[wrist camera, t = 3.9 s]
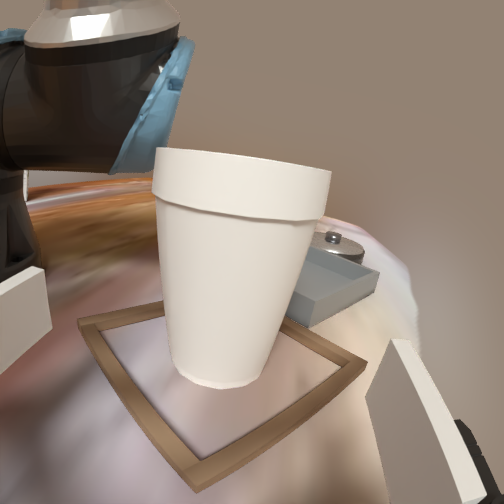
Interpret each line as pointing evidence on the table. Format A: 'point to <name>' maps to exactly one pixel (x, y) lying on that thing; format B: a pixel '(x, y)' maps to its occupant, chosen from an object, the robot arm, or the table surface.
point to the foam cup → (230, 256)
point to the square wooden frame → (243, 449)
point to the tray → (328, 287)
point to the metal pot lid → (338, 246)
